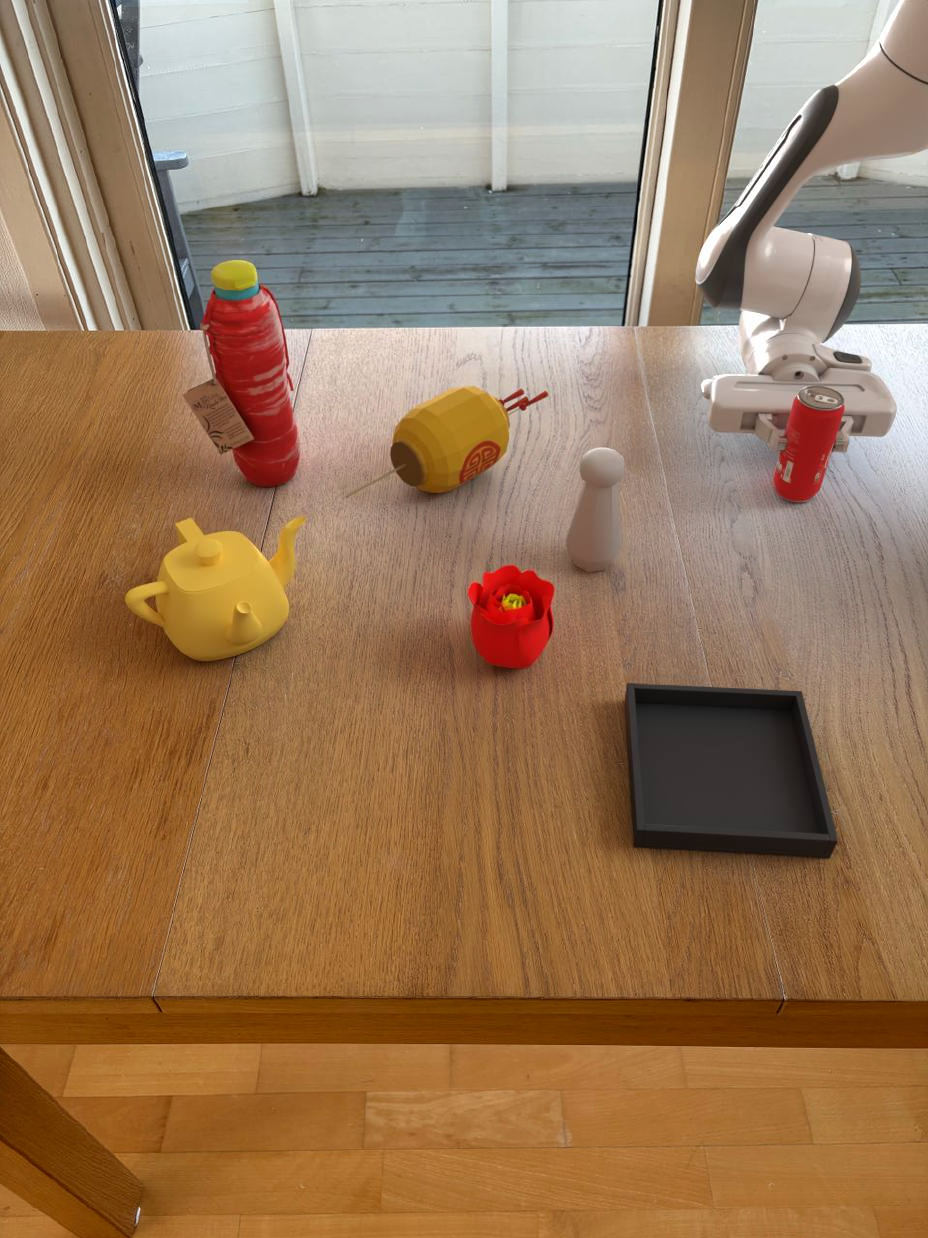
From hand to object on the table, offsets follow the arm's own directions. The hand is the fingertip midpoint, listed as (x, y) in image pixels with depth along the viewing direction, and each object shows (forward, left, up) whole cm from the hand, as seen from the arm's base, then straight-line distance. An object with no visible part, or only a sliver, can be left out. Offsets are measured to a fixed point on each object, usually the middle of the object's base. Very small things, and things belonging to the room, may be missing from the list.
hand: (810, 446), depth 102 cm
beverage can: (0, -1, -7) cm, 7 cm away
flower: (+31, +26, -7) cm, 41 cm away
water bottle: (+61, 0, -7) cm, 62 cm away
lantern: (+39, -2, -7) cm, 40 cm away
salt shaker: (+23, +12, -7) cm, 27 cm away
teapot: (+58, +24, -7) cm, 63 cm away
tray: (+13, +39, -7) cm, 42 cm away
